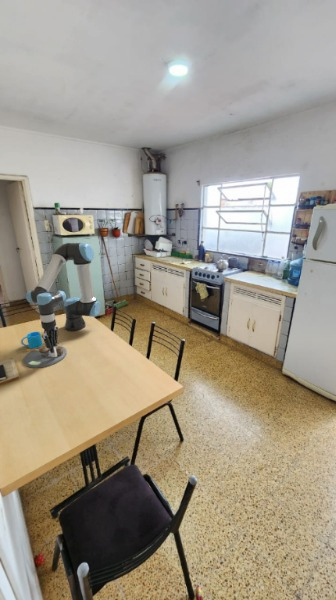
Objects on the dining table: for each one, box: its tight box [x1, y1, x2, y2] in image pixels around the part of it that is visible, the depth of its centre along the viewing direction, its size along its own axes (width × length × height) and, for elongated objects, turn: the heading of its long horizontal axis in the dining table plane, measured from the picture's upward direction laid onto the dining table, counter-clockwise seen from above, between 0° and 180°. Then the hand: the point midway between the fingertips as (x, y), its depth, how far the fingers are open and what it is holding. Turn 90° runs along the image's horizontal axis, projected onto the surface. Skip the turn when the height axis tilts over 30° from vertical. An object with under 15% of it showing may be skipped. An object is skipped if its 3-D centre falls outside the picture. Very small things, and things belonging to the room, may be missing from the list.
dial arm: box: [25, 345, 63, 355], centre depth 154 cm, size 22×6×4 cm, turn 91°
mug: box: [20, 331, 43, 349], centre depth 166 cm, size 12×8×8 cm
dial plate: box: [22, 344, 68, 369], centre depth 155 cm, size 24×24×4 cm
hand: (54, 356), depth 150 cm, fingers closed
